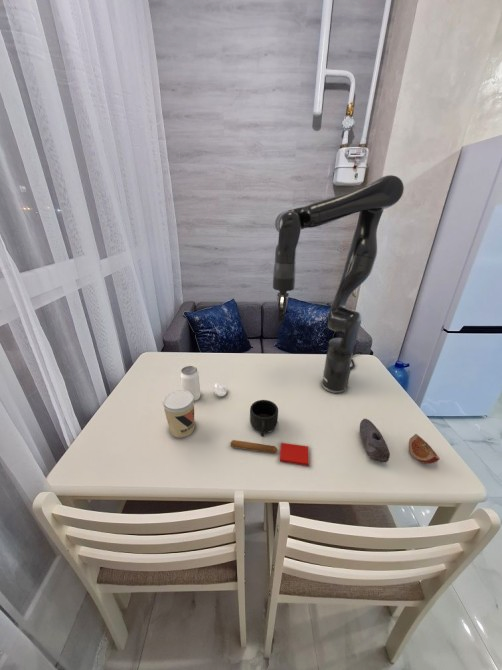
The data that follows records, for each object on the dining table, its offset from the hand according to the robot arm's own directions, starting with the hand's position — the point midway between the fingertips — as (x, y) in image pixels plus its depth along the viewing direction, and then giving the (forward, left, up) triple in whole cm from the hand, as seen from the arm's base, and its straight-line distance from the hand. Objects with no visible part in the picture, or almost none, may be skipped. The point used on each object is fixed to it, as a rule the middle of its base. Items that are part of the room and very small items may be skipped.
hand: (281, 321), depth 98 cm
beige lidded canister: (+42, +6, -27) cm, 50 cm away
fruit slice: (-15, +51, -27) cm, 60 cm away
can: (+34, -8, -27) cm, 44 cm away
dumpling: (+24, -4, -27) cm, 37 cm away
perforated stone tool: (-5, +41, -27) cm, 49 cm away
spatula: (+23, +27, -27) cm, 45 cm away
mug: (+19, +19, -27) cm, 38 cm away
